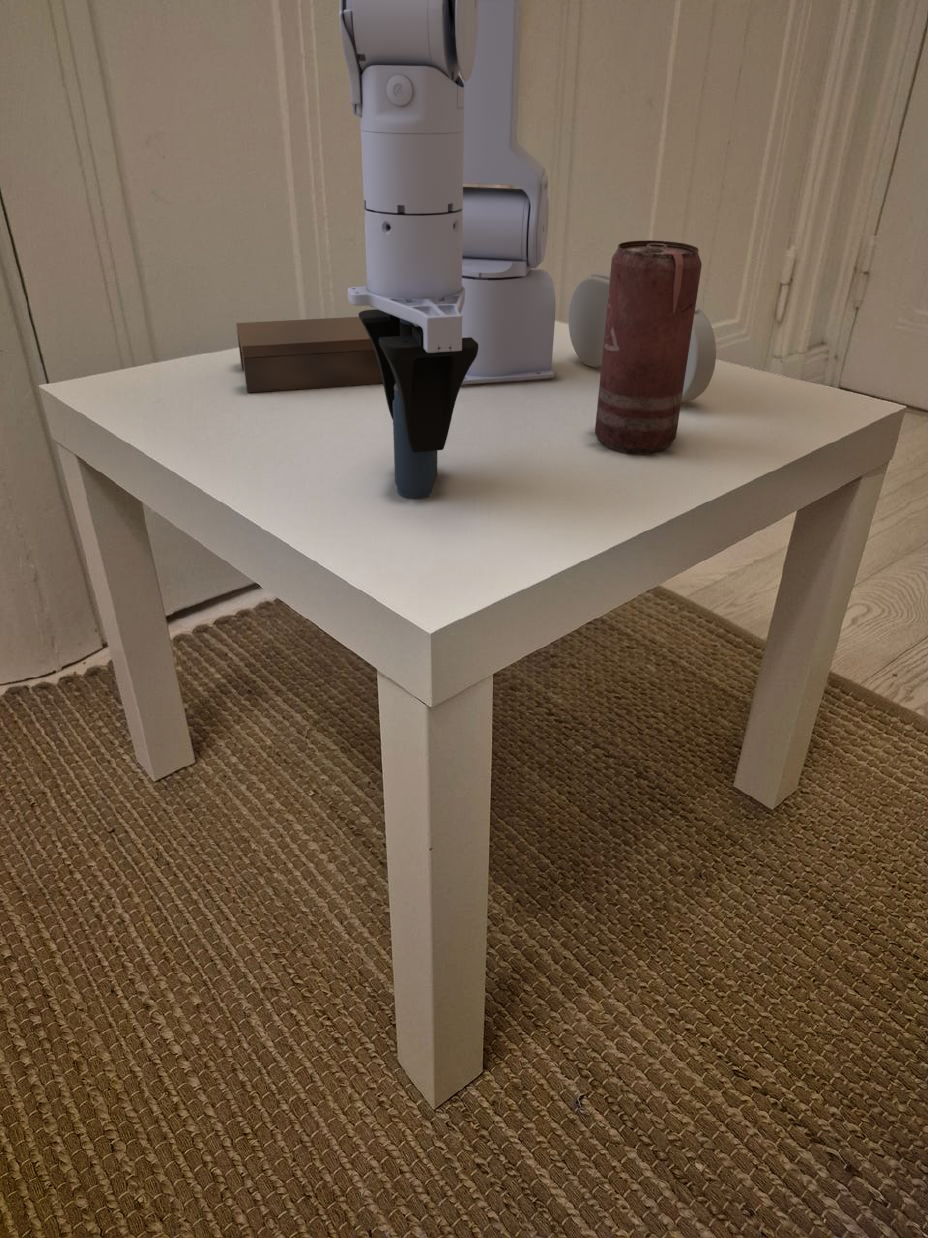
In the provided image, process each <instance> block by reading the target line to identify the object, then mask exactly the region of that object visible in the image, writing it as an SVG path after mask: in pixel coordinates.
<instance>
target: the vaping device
mask: <svg viewBox="0 0 928 1238" xmlns="http://www.w3.org/2000/svg"><path fill="white" fill-rule="evenodd" d="M412 327H415V325H414V324H413V323H411V322H409V321H406V320H404V319H401V318H400V336H409V335H410V336H411V337H412ZM394 395H395V399H394V400H393V420H392V427H393V432H392V433H393V461H394V463H393V467H394V484H395V486H396V493H397V494H398V495H399V496H401V497H403V498H407V499H424V498H427V497H429V496H431V495H432V494H433V491H434V489H435V488H434V487H435V484H436V481H437V478H438V451H427V452H415V453H414V452H412V451H411V449H410V446H409V443H408V440H407V436H406V432H405V427H404V421H403V414H402V408H401V402H400V396H399V392H398V388H397V384H396V383H395V385H394Z"/></svg>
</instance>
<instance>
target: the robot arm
mask: <svg viewBox="0 0 928 1238" xmlns="http://www.w3.org/2000/svg"><path fill="white" fill-rule="evenodd" d="M522 13H523V0H339V12H338V18H339V31H340V39H341V46H342V50H343V56H344V59H345V63H346V67H347V72H348V78H349V92H350V104H351V105H352V114H353V115H354V116H357V117H359V120H360V121H359V124H360V125H359V126H360V146H361V147H360V148H361V171H362V172H361V174H362V191H363V192H362V193H363V195H362V197H363V198H362V199H363V207H364V208H363V217H364V243H365V245H364V246H365V265H366V266H365V267H366V269H365V270H366V285H364V286H352V287H348V288H347V300H348V302H349V303H350V304H351V305H352V306H356V307H362V306H363V307H364V306H367V307H368V306H369V308H370V307H371V308H373V309H365V310H361V311H359V312H358V317H359V318H360V320H361V322H362V323H363V325H364V327H365V329H366V331H367V333H368V336H369V338H370V340H371V343H372V345H373V348H374V351H375V354H376V357H377V361H378V364H379V368H380V372H381V376H382V381H383V383H382V385H383V391H384V395H385V399H386V403H387V408H388V412H389V414H390V417H391V419H392V421H393V400H394V399H395V395H394V385H395V383H396V384H397V388H398V392H399V396H400V402H401V408H402V414H403V421H404V427H405V432H406V436H407V440H408V443H409V446H410V449H411V451H412V452H414V453H415V452H427V451H437V452H438V451H443V450H444V449H445V446H446V443H447V439H448V435H449V431H450V427H451V422H452V418H453V413H454V410H455V405H456V402H457V399H458V395H459V393H460V389H461V387H462V386H463V385H476V384H487V383H488V384H489V383H491V384H492V383H503V382H518V381H530V380H546V379H553V378H554V377H555V372H554V371H553V370H552V369H553V353H554V341H555V339H554V337H555V323H556V307H557V306H556V301H557V300H556V291H555V285H554V281H553V278H552V276H551V275H550V273H549V271H547V270H545V269H541V268H538V267H539V265H541V264H542V263H543V262H544V260H545V257H546V250H547V245H548V233H549V219H550V218H549V217H550V207H549V206H550V204H549V203H550V202H549V195H548V193H549V176H548V174H547V171H546V168H545V166H544V165H543V164H542V163H541V162H540V161H539V160H538V159H536V157H535V156H533V155H532V154H531V153H530V152H529V151H528V150H527V149H526V148H525V147H524V146H523V145H522V144H520V142H519V141H518V122H519V121H518V120H519V99H520V98H519V97H520V96H519V94H520V93H519V92H520V70H521V69H520V67H521V44H522V43H521V42H522V41H521V39H522V15H523V14H522ZM465 184H466V185H493V186H512V187H517V188H511V187H509V188H508V187H487V186H485V187H483V186H482V187H481V186H464V185H465ZM400 318H401V319H404V320H406V321H409V322H411V323H413V324H414V325H415V327H412V337H411V336H410V335H409V336H400Z"/></svg>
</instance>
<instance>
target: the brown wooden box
mask: <svg viewBox="0 0 928 1238" xmlns="http://www.w3.org/2000/svg"><path fill="white" fill-rule="evenodd" d="M235 325H236V326H235V327H236V333H237V342H238V352H239V359H240V367H241V370H242V371H244V380H245V389H246V393H247V394H251V393H267V392H281V391H293V390H294V391H295V390H307V389H322V388H335V387H350V386H352V387H353V386H363V385H364V386H366V385H379V384H380V385H381V384H382V385H383V381H382V376H381V372H380V368H379V364H378V361H377V357H376V354H375V351H374V348H373V345H372V343H371V340H370V338H369V336H368V333H367V331H366V329H365V327H364V325H363V323H362V322H361V320H360V318H359V316H347V317H346V316H345V317H329V318H327V317H325V318H310V319H309V318H308V319H289V320H287V319H286V320H270V321H249V322H236V324H235Z"/></svg>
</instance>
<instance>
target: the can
mask: <svg viewBox="0 0 928 1238" xmlns="http://www.w3.org/2000/svg"><path fill="white" fill-rule="evenodd" d="M610 262H611V263H610V273H609V274H610V282H609V292H608V303H607V313H606V323H605V333H604V344H603V354H602V364H601V367H600V375H599V385H598V394H597V395H598V396H597V406H596V417H595V426H594V434H595V436H596V438H597V441H598V442H599V443H600V444H601V445H602V446H604V447H605V448H607V449H609V450H612V451H615V452H618V453H624V454H628V455H629V454H631V455H651V454H652V455H653V454H657V453H661V452H664V451H666V450H668V449H669V448H670V446H671V445H672V444H673V443H674V441H675V440H677V435H678V426H679V419H680V414H681V413H680V412H681V407H682V402H681V401H682V394H683V387H684V380H685V374H686V367H687V360H688V354H689V347H690V340H691V333H692V327H693V320H694V313H695V307H696V305H697V300H698V293H699V287H700V286H699V285H700V279H701V272H702V266H703V263H702V261H701V257H700V255H699V248H698V246H695V245H693V244H688V243H685V242H684V243H683V242H676V241H670V240H669V241H667V240H648V239H647V240H646V239H645V240H630V241H625V242H621V243H619V244H618V245H617V249H616V250H615V252H614V253H613V255H612V257H611V261H610Z"/></svg>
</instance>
